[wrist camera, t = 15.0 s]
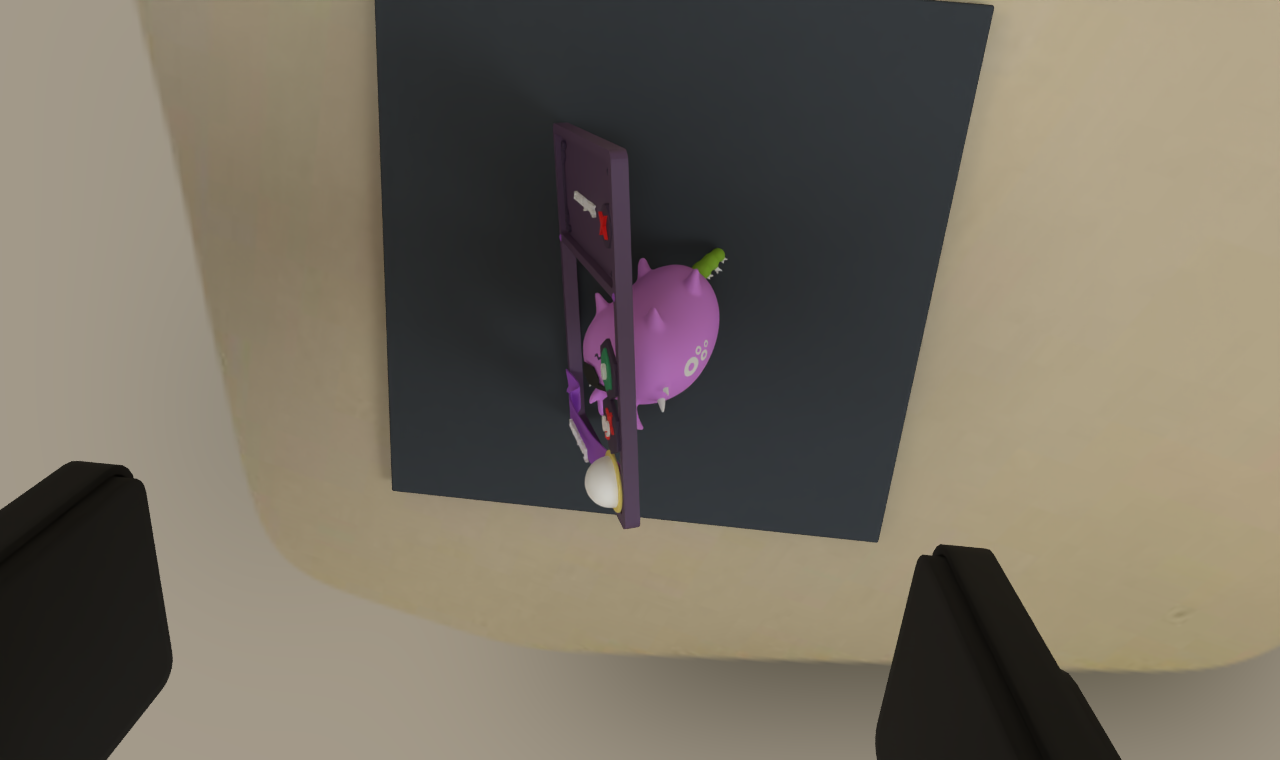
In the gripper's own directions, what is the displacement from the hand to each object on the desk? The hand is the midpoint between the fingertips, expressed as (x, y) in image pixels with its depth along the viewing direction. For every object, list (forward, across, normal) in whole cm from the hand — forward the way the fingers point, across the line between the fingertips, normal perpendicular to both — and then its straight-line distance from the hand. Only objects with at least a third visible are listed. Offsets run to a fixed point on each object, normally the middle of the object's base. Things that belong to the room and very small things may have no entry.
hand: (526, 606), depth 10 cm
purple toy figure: (+16, -1, 0) cm, 16 cm away
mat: (+16, -1, 0) cm, 16 cm away
